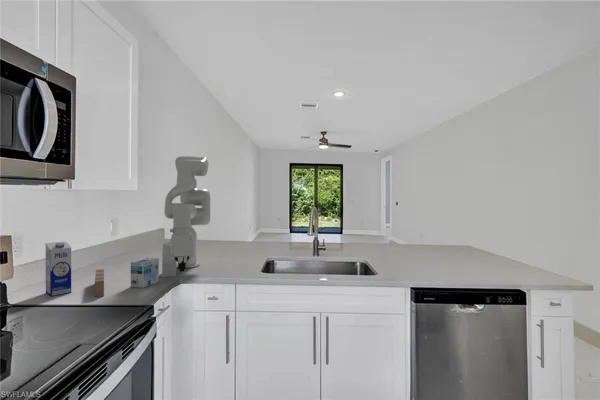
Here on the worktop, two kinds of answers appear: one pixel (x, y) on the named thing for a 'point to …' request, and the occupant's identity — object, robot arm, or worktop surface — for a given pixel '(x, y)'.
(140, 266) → the light bulb box
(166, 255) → the skincare box
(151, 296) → the worktop surface
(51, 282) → the milk carton
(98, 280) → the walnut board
